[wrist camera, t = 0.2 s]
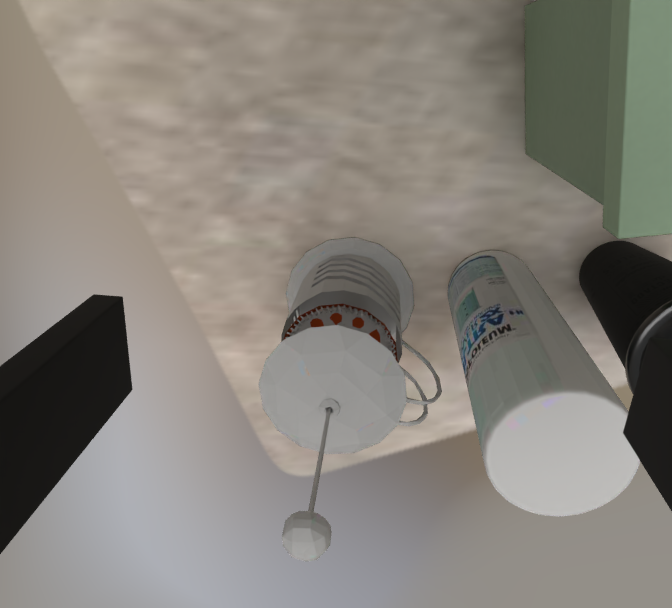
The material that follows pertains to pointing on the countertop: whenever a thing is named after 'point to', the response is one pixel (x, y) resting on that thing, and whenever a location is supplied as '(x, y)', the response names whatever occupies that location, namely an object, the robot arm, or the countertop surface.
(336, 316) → the french press
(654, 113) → the green lidded bin
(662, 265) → the drinking cup
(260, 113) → the countertop surface
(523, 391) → the spray can
